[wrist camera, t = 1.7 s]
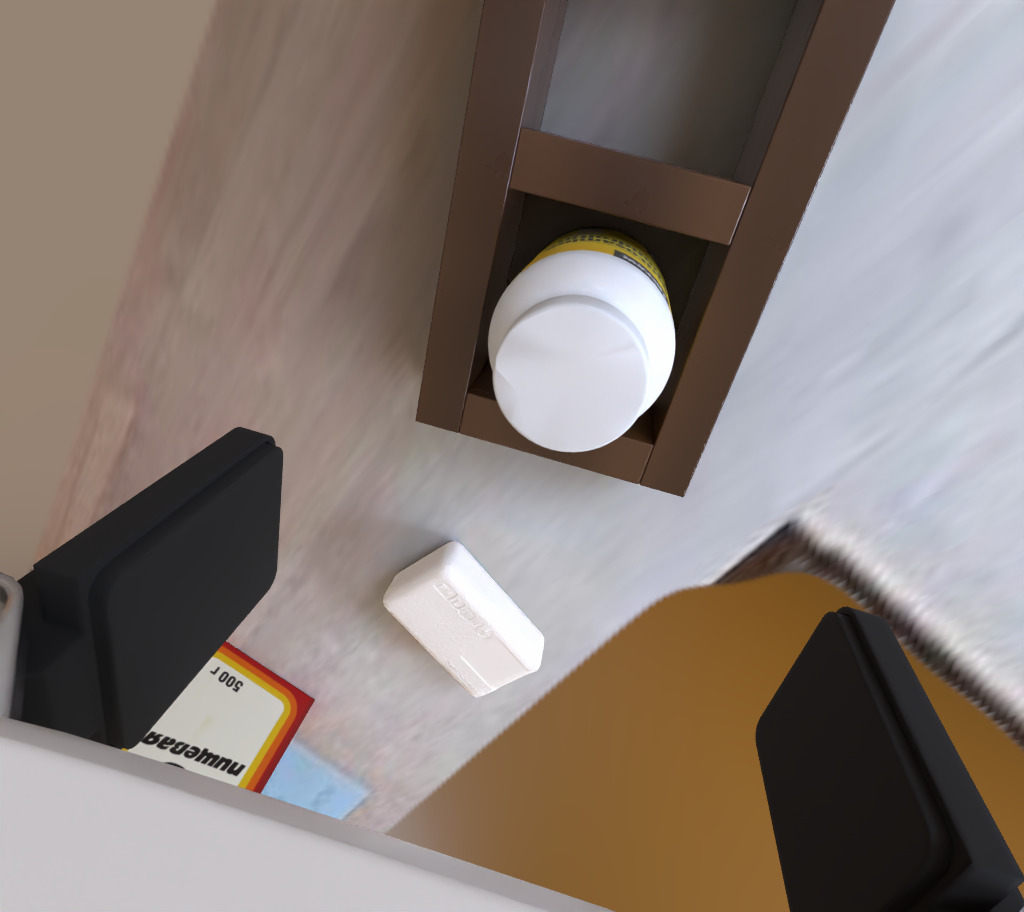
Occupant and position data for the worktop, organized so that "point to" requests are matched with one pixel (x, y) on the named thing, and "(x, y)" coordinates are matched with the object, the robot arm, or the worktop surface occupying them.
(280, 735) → the baking soda box
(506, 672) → the soap
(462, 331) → the brown divided wooden tray
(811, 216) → the worktop surface
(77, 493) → the worktop surface
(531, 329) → the pill bottle
